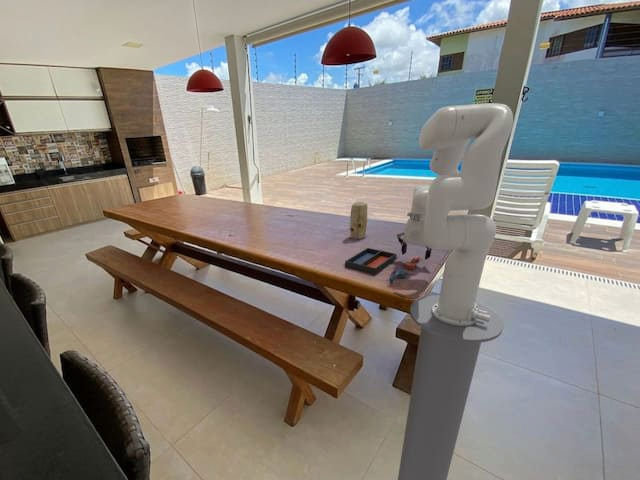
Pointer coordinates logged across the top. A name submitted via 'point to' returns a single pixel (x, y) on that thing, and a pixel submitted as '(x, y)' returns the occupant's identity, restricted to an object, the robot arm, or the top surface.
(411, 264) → the terracotta spoon
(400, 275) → the blue spoon
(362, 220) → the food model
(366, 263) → the sorting tray
